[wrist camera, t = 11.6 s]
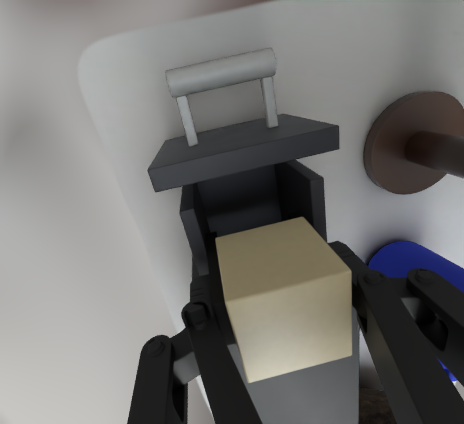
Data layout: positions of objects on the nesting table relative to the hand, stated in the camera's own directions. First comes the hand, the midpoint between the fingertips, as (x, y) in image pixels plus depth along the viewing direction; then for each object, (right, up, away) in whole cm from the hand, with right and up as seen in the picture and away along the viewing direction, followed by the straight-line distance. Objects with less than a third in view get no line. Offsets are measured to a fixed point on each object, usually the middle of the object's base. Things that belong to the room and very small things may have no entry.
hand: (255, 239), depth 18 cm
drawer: (-1, +4, +5) cm, 7 cm away
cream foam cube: (0, -1, -3) cm, 3 cm away
